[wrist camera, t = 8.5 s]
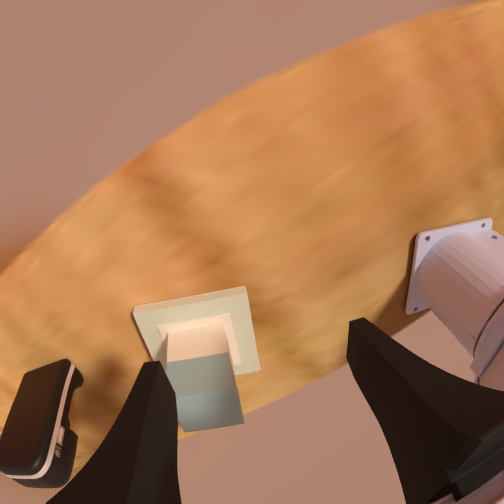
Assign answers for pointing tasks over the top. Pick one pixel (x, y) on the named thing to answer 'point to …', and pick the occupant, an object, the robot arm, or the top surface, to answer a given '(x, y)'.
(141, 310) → the plate
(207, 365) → the brick stack
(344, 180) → the top surface
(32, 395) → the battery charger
